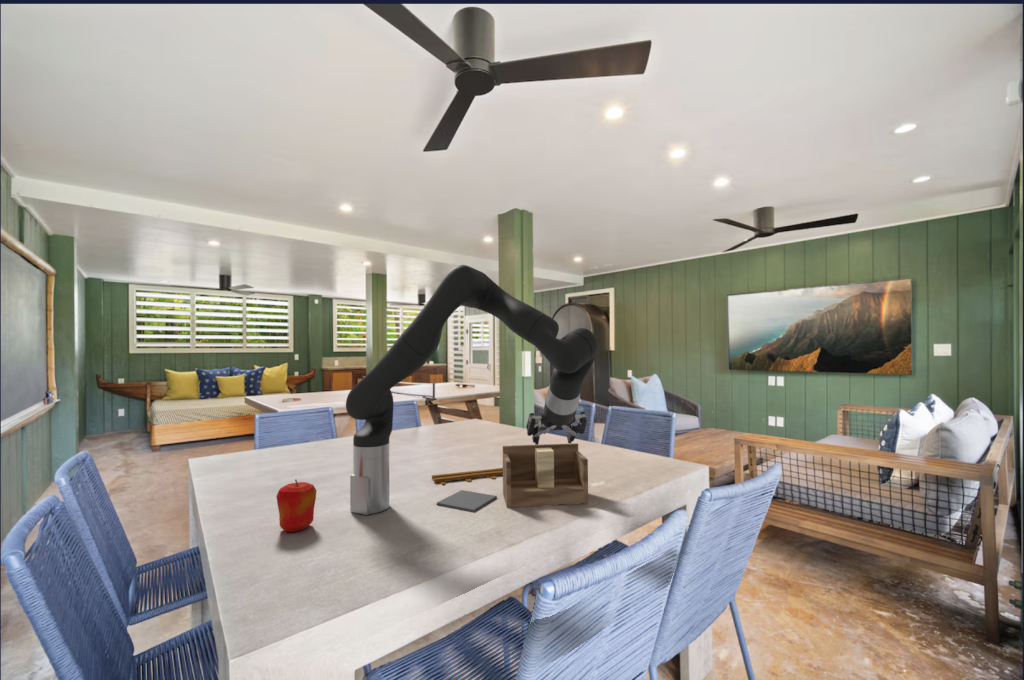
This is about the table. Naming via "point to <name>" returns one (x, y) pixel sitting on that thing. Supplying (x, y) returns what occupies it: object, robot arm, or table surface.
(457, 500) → the charcoal mat
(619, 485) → the table surface
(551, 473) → the maple block
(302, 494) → the apple
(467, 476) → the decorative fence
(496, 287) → the robot arm
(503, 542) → the table surface
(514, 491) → the walnut cubby
